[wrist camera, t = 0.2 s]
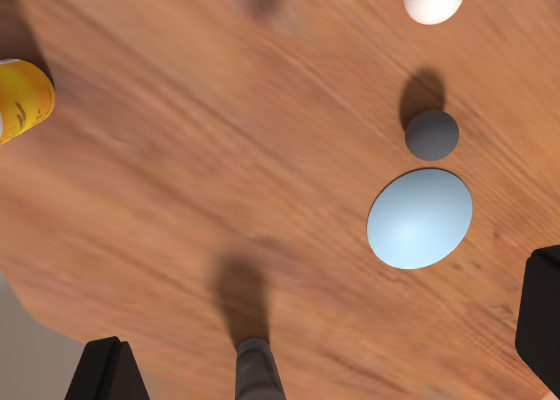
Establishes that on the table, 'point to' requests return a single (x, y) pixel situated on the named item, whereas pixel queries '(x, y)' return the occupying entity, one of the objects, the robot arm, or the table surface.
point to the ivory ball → (431, 10)
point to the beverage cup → (257, 372)
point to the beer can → (23, 97)
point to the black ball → (431, 135)
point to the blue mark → (419, 218)
